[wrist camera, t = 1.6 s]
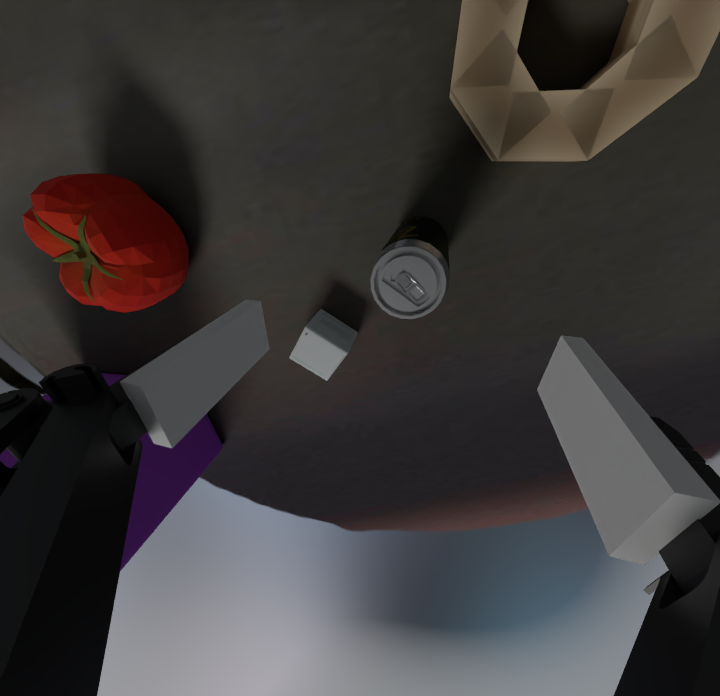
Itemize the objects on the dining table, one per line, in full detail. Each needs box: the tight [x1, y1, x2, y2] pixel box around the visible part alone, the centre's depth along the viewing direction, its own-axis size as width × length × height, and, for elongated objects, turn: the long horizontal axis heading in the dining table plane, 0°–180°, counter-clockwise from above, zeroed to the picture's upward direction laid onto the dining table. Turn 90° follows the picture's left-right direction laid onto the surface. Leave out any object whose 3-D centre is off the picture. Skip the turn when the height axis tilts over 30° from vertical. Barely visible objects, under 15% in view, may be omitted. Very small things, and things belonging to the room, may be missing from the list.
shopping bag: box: [0, 373, 222, 571], centre depth 44 cm, size 28×22×30 cm
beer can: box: [370, 216, 450, 319], centre depth 24 cm, size 5×5×12 cm
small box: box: [289, 309, 358, 381], centre depth 35 cm, size 6×6×5 cm
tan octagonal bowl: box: [450, 0, 720, 162], centre depth 18 cm, size 14×14×4 cm
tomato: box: [23, 174, 189, 313], centre depth 31 cm, size 14×13×10 cm
